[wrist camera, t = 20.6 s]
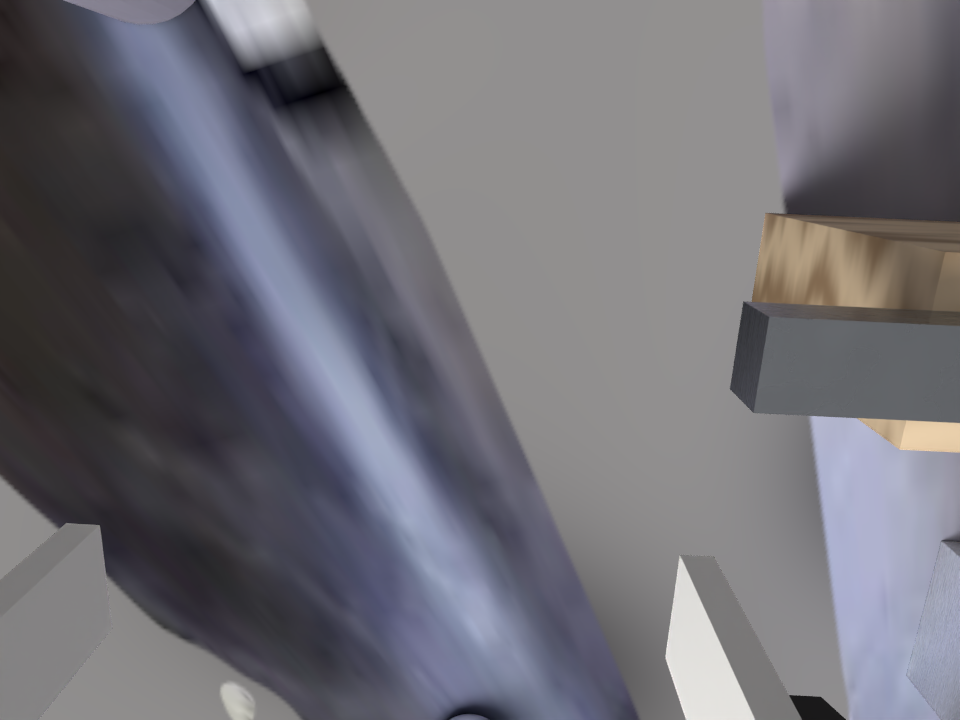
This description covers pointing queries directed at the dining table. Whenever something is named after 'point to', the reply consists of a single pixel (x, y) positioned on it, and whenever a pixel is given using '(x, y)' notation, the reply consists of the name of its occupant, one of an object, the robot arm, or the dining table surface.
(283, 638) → the dining table surface
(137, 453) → the dining table surface
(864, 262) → the oak side stand
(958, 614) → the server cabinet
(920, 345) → the bar
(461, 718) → the plastic bottle
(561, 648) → the dining table surface
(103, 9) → the container
